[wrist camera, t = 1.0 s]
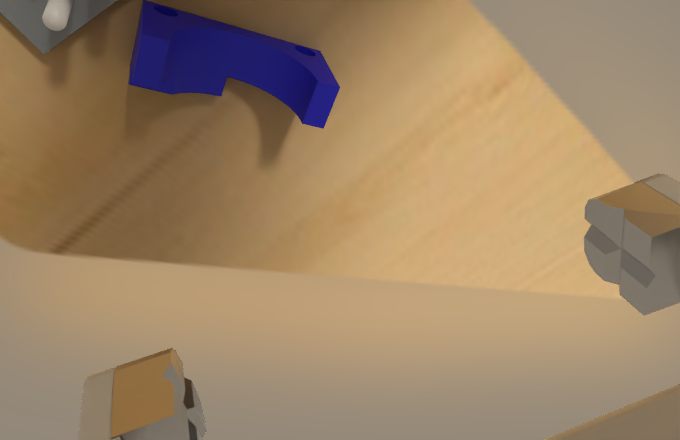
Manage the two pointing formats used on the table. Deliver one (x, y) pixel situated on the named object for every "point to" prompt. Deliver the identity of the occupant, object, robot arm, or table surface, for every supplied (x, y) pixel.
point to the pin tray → (50, 18)
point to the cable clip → (228, 62)
